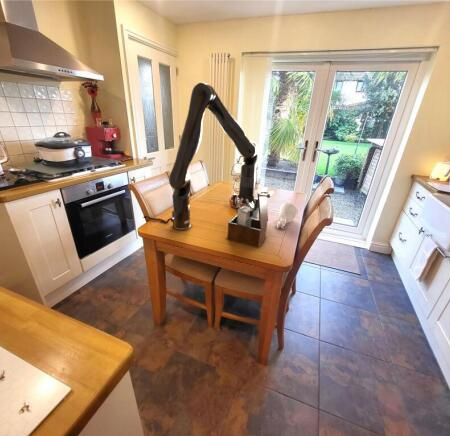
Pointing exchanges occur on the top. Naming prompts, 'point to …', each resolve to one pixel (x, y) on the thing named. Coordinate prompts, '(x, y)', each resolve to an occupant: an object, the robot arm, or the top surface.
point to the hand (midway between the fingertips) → (244, 215)
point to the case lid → (263, 206)
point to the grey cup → (254, 210)
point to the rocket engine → (286, 214)
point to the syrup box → (244, 216)
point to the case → (246, 232)
